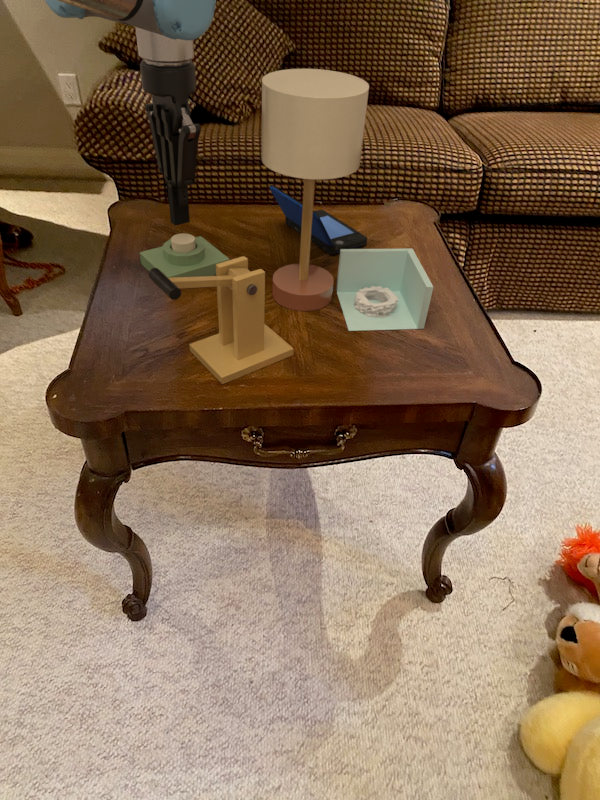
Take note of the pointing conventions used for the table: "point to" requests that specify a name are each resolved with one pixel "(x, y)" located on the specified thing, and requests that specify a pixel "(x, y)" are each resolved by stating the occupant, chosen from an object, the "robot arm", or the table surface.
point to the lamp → (310, 158)
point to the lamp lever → (192, 281)
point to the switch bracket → (240, 328)
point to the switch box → (184, 260)
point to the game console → (319, 225)
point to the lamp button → (183, 243)
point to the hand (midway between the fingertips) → (180, 222)
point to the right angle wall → (383, 289)
